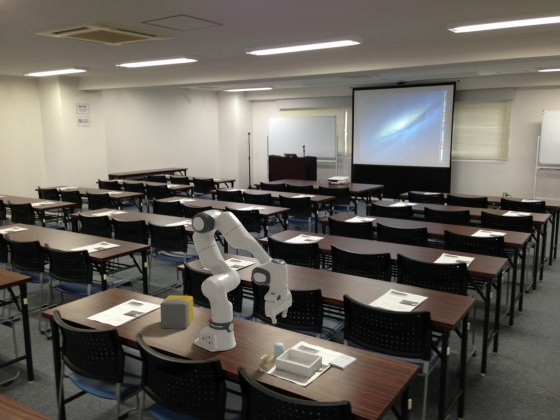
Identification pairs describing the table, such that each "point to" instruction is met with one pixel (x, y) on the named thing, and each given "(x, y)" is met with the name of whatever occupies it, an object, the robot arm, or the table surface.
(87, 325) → the table surface
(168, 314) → the grey-faced yellow box
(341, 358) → the external hard drive
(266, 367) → the maple cube
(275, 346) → the pale blue cylinder
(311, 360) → the tote
